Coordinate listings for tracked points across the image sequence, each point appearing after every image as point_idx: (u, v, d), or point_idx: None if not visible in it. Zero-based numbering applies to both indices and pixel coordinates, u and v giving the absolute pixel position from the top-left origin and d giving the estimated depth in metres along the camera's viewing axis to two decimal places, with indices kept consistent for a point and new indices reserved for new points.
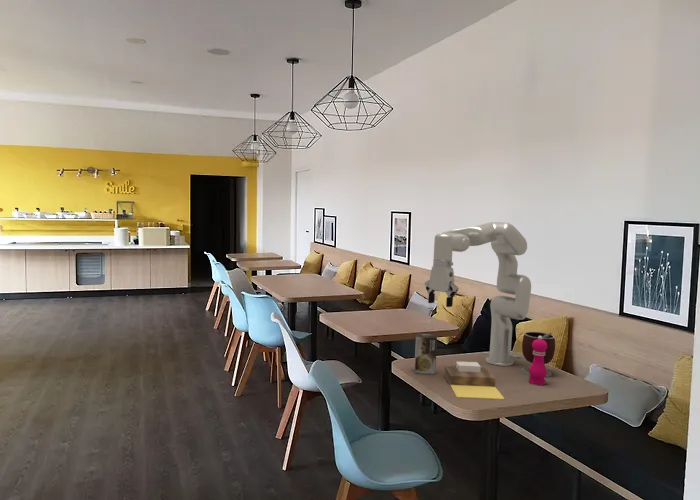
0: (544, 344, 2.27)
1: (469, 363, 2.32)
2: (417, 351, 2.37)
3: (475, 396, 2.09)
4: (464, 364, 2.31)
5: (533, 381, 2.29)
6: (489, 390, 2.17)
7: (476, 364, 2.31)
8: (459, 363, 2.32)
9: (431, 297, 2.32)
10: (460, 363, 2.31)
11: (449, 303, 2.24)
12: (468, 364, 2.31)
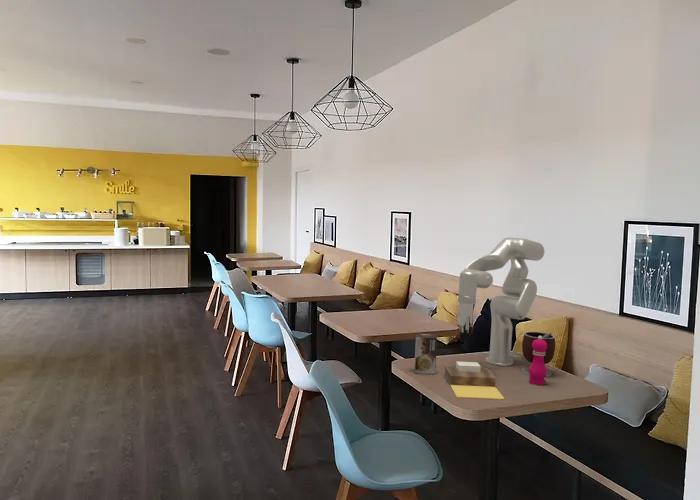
0: (544, 344, 2.27)
1: (469, 363, 2.32)
2: (417, 351, 2.37)
3: (475, 396, 2.09)
4: (464, 364, 2.31)
5: (533, 381, 2.29)
6: (489, 390, 2.17)
7: (476, 364, 2.31)
8: (459, 363, 2.32)
9: None
10: (460, 363, 2.31)
11: None
12: (468, 364, 2.31)
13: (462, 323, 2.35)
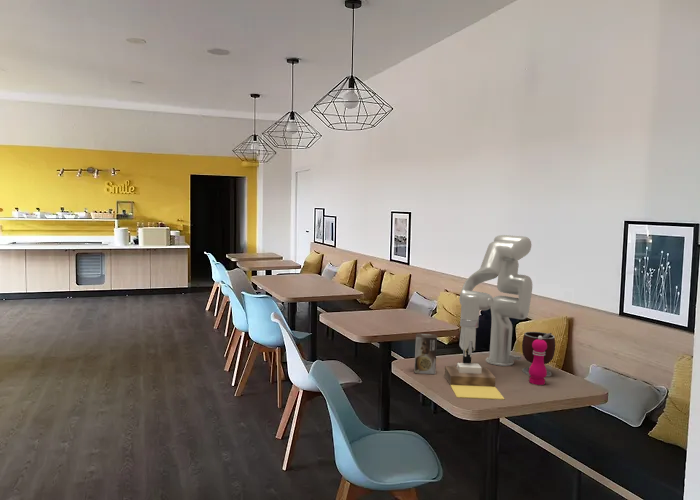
0: (544, 344, 2.27)
1: (470, 364, 2.30)
2: (417, 351, 2.37)
3: (475, 396, 2.09)
4: (465, 365, 2.28)
5: (533, 381, 2.29)
6: (489, 390, 2.17)
7: (477, 365, 2.29)
8: (460, 364, 2.29)
9: None
10: (460, 365, 2.29)
11: None
12: (469, 365, 2.28)
13: (465, 348, 2.29)
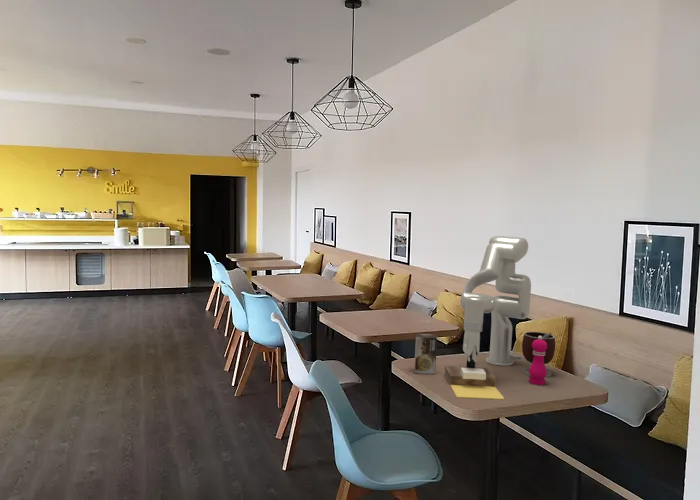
0: (544, 344, 2.27)
1: (474, 370, 2.23)
2: (417, 351, 2.37)
3: (475, 396, 2.09)
4: (469, 371, 2.21)
5: (533, 381, 2.29)
6: (489, 390, 2.17)
7: (481, 371, 2.22)
8: (464, 370, 2.22)
9: None
10: (464, 370, 2.22)
11: None
12: (473, 371, 2.21)
13: (468, 352, 2.21)
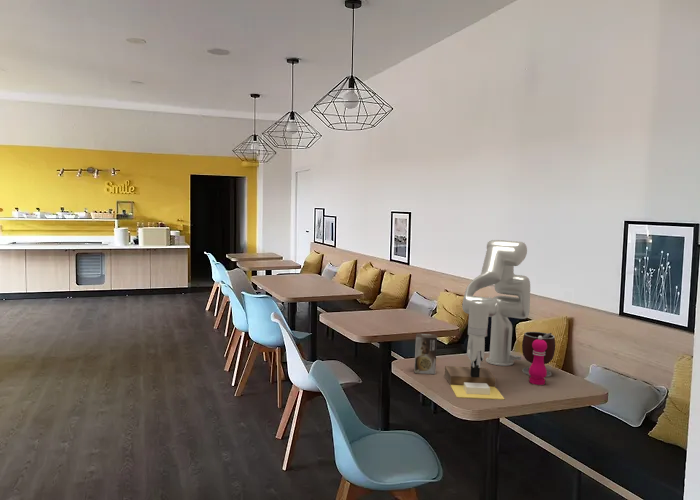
0: (544, 344, 2.27)
1: None
2: (417, 351, 2.37)
3: (475, 396, 2.09)
4: None
5: (533, 381, 2.29)
6: None
7: None
8: None
9: None
10: None
11: None
12: None
13: (473, 358, 2.14)
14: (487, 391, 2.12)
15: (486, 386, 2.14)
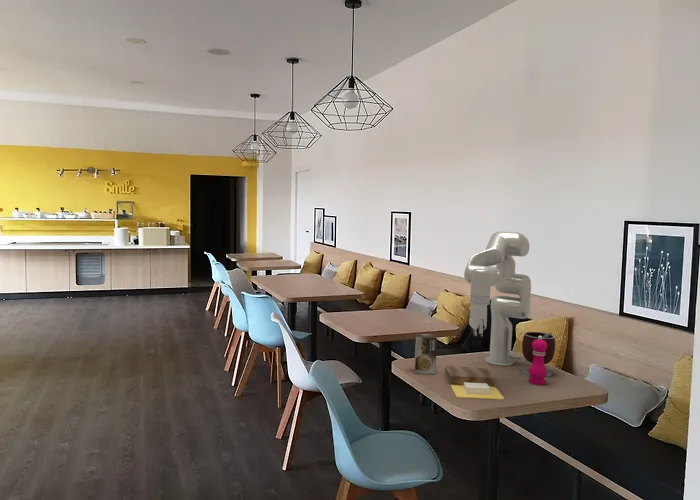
0: (544, 344, 2.27)
1: None
2: (417, 351, 2.37)
3: (475, 396, 2.09)
4: None
5: (533, 381, 2.29)
6: None
7: None
8: None
9: None
10: None
11: None
12: None
13: (475, 326, 2.13)
14: (487, 391, 2.12)
15: (486, 386, 2.14)
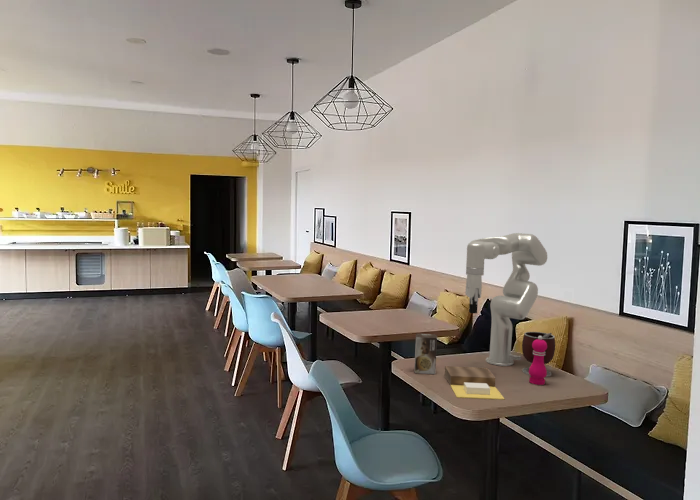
0: (544, 344, 2.27)
1: None
2: (417, 351, 2.37)
3: (475, 396, 2.09)
4: None
5: (533, 381, 2.29)
6: None
7: None
8: None
9: None
10: None
11: None
12: None
13: (471, 295, 2.35)
14: (487, 391, 2.12)
15: (486, 386, 2.14)
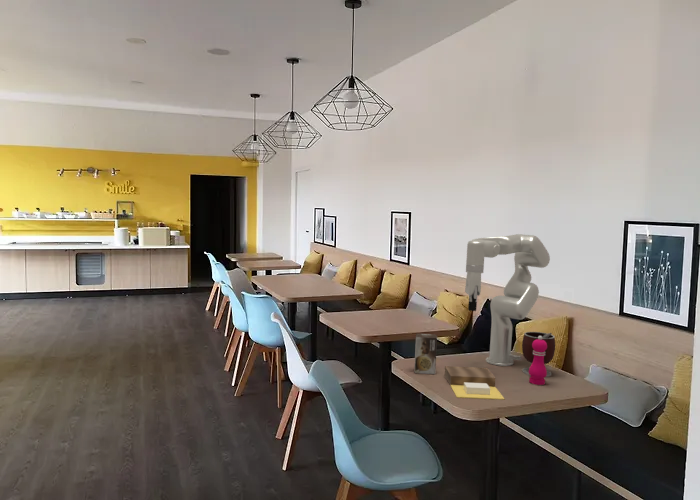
0: (544, 344, 2.27)
1: None
2: (417, 351, 2.37)
3: (475, 396, 2.09)
4: None
5: (533, 381, 2.29)
6: None
7: None
8: None
9: None
10: None
11: None
12: None
13: (470, 292, 2.37)
14: (487, 391, 2.12)
15: (486, 386, 2.14)
